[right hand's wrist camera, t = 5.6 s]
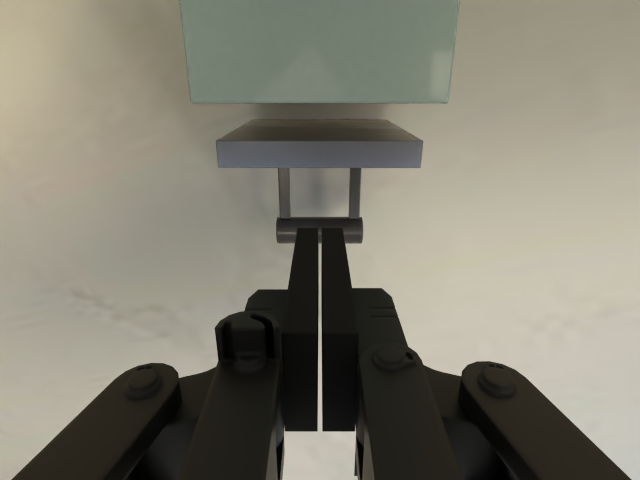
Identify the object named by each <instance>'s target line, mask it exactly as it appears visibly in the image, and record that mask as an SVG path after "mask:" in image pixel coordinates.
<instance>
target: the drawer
mask: <svg viewBox="0 0 640 480" xmlns="http://www.w3.org/2000/svg"><path fill="white" fill-rule="evenodd" d="M216 148H217V158H218V167H219V168H278V179H279V205H280V217H277V222H276V238H277V243H295V240H296V234H297V228H318V243H322V228H343V234H344V240H345V243H362V239H363V221H362V217H359V210H360V184H361V168H420V167H421V159H422V148H423V141H422V140H420V139H419V138H417V137H415V136H414V135H412V134H410V133H408V132H407V131H405V130H403V129H402V128H400V127H398V126H397V125H395V124H393V123H391V122H390V121H388V120H251V121H249V122H248V123H246V124H244V125H243V126H241V127H239V128H237V129H236V130H234V131H232V132H231V133H229V134H227V135H225V136H224V137H222V138H220V139H218V140H217V141H216ZM289 168H350V183H349V217H290V216H291V211H290V175H289Z"/></svg>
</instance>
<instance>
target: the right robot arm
mask: <svg viewBox="0 0 640 480" xmlns="http://www.w3.org/2000/svg"><path fill="white" fill-rule="evenodd" d="M215 334H216V342H217V351H218V360H219V361H218V364H217V367H215V368H213V369H211V370H209V371H206V372H203V373H199V374H195V375H191V376H186V377H182V378H179V376H178V372H177V371H176V370H175V369H174V368H173V367H172V366H169V365H166V364H164V363H149V364H145V365H140V366H137V367H134V368H132V369H130V370H128V371H125V372H124V373H123V374H121V375H120V376H119V377H117V378H116V379H115V380H114V381H113V382H112V383H111V384H109V385H108V386H107V387H106V388H105V389H104V390H103V391H102V392H101V393H100V394H99V395H98V396H97V397H96V398H95V399H94V400H93V401H92V402H91V403H90V404H89V405H88V406H87V407H86V408H85V409H84V410H83V411H82V412H81V413H80V414H79V415H78V416H77V417H76V418H75V419H73V420H72V421H71V422H70V423H69V424H68V425H67V426H66V427H65V428H64V429H63V430H62V431H61V432H60V433H59V434H58V435H57V436H56V437H55V438H54V439H53V440H52V441H51V442H50V443H49V444H48V445H47V446H46V447H45V448H44V449H43V450H42V451H41V452H40V453H39V454H37V455H36V456H35V457H34V458H33V459H32V460H31V461H30V462H29V463H28V464H27V465H26V466H25V467H24V468H23V469H22V470H21V471H20V472H19V473H18V474H17V475H16V476H15V477H14V478H13V479H12V480H282V475H283V463H284V427H285V431H317V418H318V228H297V234H296V240H295V247H294V253H293V260H292V266H291V272H290V279H289V285H288V290H257V291H256V292H255V293H254V294H253V295H252V296H251V297H249V298H248V301H247V304H246V307H245V311H243V312H238V313H235V314H232V315H229V316H227V317H226V318H224V319H222V320H221V321H220V322H219V323H218V324H217V326H216V327H215ZM322 419H323V431H355V425H356V451H355V474H354V476H358V480H631V479H630V478H629V477H628V476H627V475H626V474H625V473H624V472H623V471H622V470H621V469H620V468H619V467H618V466H617V465H616V464H615V463H614V462H613V461H612V460H610V459H609V458H608V457H607V456H606V455H605V454H604V453H603V452H602V451H601V450H600V449H599V448H598V447H597V446H596V445H595V444H594V443H593V442H592V441H591V440H590V439H589V438H588V437H587V436H586V435H585V434H584V433H583V432H581V431H580V430H579V429H578V428H577V427H576V426H575V425H574V424H573V423H572V422H571V421H570V420H569V419H568V418H567V417H566V416H565V415H564V414H563V413H562V412H561V411H560V410H559V409H558V408H557V407H556V406H555V405H554V404H552V403H551V402H550V401H549V400H548V399H547V398H546V397H545V396H544V395H543V394H542V393H541V392H540V391H539V390H538V389H537V388H536V387H535V386H534V385H533V384H532V383H531V382H530V381H529V380H528V379H527V378H525V377H524V376H523V375H521V374H520V373H519V372H517V371H516V370H514V369H512V368H510V367H508V366H505V365H503V364H499V363H494V362H490V361H485V362H475V363H472V364H469V365H467V366H466V367H465V369H464V370H463V371H462V376H457V375H452V374H448V373H443V372H440V371H436V370H433V369H431V368H429V367H427V366H424V365H423V363H422V360H421V359H420V357H419V356H418V354H417V353H416V352H415V351H413V350H412V349H411V348H409V347H408V345H407V342H406V339H405V336H404V333H403V330H402V327H401V324H400V321H399V318H398V315H397V312H396V309H395V306H394V303H393V300H392V297H391V296H390V295H389V294H388V293H386V292H385V291H384V290H383V289H382V288H352V285H351V279H350V273H349V266H348V260H347V253H346V247H345V240H344V234H343V228H322Z"/></svg>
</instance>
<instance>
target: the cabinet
mask: <svg viewBox="0 0 640 480" xmlns="http://www.w3.org/2000/svg"><path fill="white" fill-rule="evenodd" d="M179 2H180V10H181V19H182V28H183V37H184V46H185V55H186V64H187V73H188V82H189V91H190V100H191V103H448V100H449V91H450V82H451V73H452V64H453V55H454V46H455V37H456V28H457V19H458V11H459V2H460V0H179Z"/></svg>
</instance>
